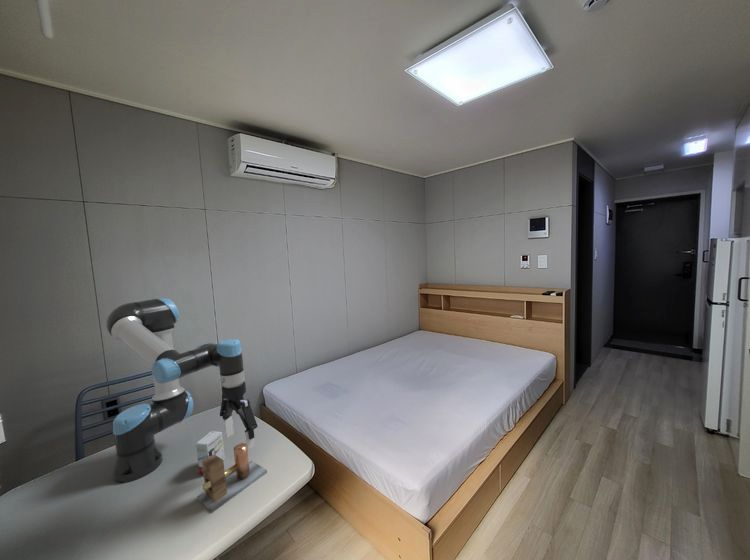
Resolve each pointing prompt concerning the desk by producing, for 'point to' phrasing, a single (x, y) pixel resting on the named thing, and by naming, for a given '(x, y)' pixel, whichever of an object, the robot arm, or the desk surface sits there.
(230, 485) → the eye post
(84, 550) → the desk surface
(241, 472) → the copper-capped brass rod
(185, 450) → the desk surface
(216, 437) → the ink box
